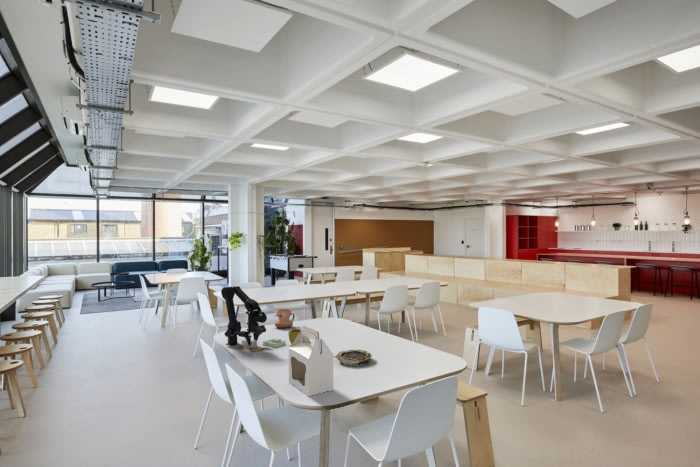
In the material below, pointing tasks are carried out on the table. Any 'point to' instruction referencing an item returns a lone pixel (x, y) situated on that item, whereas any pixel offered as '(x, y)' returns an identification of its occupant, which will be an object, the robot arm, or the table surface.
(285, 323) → the ceramic jug
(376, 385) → the table surface
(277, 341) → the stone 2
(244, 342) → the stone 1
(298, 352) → the gable box
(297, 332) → the flower pot
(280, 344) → the green bin
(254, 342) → the white small cube
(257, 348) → the walnut tray
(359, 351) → the pie
